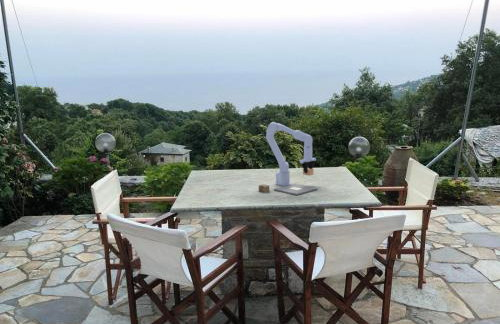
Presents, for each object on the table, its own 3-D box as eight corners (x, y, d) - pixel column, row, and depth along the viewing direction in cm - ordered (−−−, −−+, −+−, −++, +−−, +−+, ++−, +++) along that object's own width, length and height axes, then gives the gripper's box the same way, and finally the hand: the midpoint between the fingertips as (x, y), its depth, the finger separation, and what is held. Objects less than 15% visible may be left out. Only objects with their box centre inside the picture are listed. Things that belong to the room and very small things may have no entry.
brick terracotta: (302, 174, 272) (302, 168, 271) (306, 173, 274) (306, 167, 274) (309, 175, 267) (309, 169, 267) (313, 174, 270) (313, 169, 269)
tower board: (273, 190, 258) (273, 188, 258) (294, 185, 271) (294, 183, 270) (296, 195, 243) (296, 193, 243) (317, 189, 256) (317, 188, 255)
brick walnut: (258, 191, 257) (258, 185, 257) (263, 189, 260) (263, 184, 259) (264, 192, 253) (264, 186, 252) (269, 191, 255) (269, 185, 255)
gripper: (305, 154, 261) (305, 174, 263) (319, 152, 270) (319, 171, 272) (297, 153, 266) (297, 173, 268) (311, 151, 275) (311, 170, 277)
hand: (308, 172), depth 271 cm, fingers closed on brick terracotta, 4 cm apart
